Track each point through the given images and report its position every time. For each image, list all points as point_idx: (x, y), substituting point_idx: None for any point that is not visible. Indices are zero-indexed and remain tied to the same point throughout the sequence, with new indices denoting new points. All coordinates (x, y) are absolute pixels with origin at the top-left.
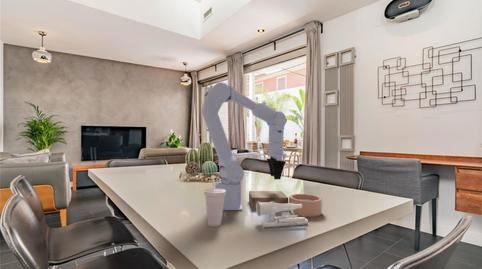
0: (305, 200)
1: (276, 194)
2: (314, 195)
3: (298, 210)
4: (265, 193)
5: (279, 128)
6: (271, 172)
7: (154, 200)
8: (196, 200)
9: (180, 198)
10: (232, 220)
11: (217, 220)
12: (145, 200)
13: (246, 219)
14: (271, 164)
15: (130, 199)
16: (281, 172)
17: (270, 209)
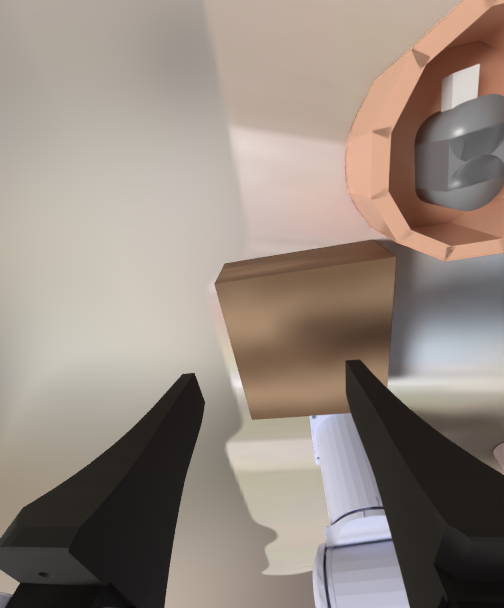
0: (488, 143)
1: (313, 314)
2: (443, 27)
3: None
4: (294, 362)
5: None
6: (195, 426)
7: (289, 548)
8: (275, 495)
9: (260, 520)
10: (489, 418)
11: None
12: (292, 557)
13: (489, 387)
14: (167, 507)
15: (287, 571)
16: (398, 400)
17: None
